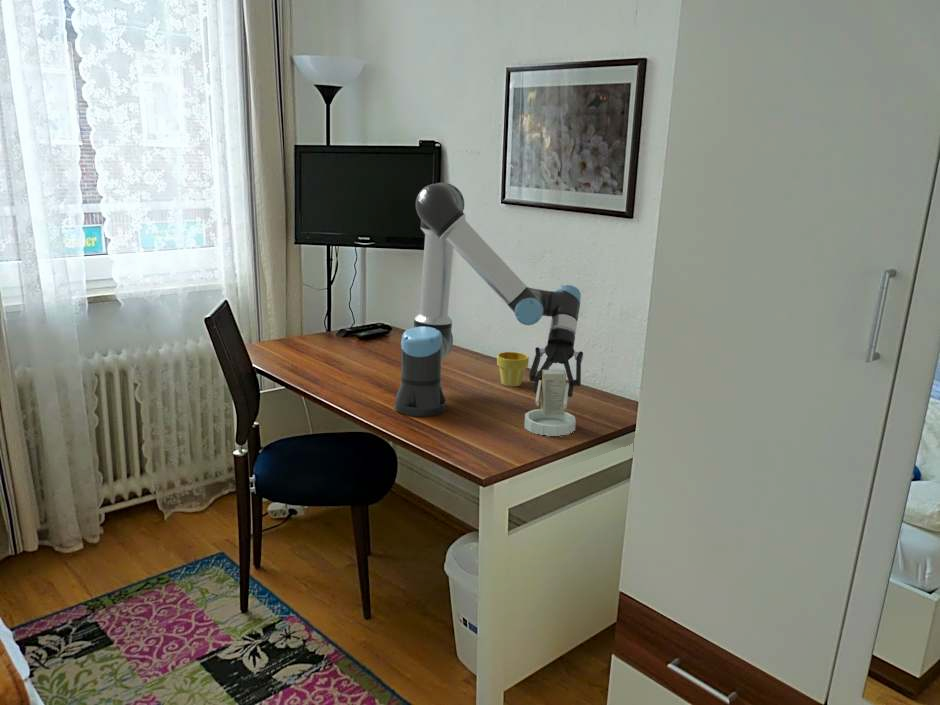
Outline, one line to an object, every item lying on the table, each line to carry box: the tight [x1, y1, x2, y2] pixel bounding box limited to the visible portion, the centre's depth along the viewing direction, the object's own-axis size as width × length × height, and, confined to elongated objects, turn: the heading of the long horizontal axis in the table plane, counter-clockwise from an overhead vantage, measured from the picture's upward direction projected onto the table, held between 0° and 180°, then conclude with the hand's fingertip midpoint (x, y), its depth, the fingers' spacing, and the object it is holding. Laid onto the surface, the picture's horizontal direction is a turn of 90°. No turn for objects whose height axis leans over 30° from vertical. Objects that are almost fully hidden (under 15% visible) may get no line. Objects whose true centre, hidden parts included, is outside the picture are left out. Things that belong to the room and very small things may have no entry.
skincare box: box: [540, 369, 567, 415], centre depth 204 cm, size 6×4×12 cm
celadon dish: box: [523, 408, 577, 437], centre depth 206 cm, size 14×14×3 cm
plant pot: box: [496, 351, 530, 388], centre depth 244 cm, size 10×10×10 cm
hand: (550, 404), depth 201 cm, fingers closed on skincare box, 7 cm apart
